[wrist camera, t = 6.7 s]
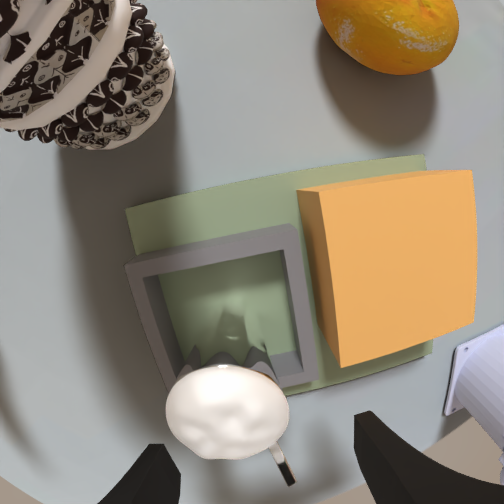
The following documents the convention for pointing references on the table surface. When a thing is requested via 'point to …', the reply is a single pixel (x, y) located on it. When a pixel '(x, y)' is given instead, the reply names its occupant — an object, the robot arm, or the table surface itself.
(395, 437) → the robot arm
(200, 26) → the table surface
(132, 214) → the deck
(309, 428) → the table surface
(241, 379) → the milkshake
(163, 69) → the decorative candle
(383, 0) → the fruit
